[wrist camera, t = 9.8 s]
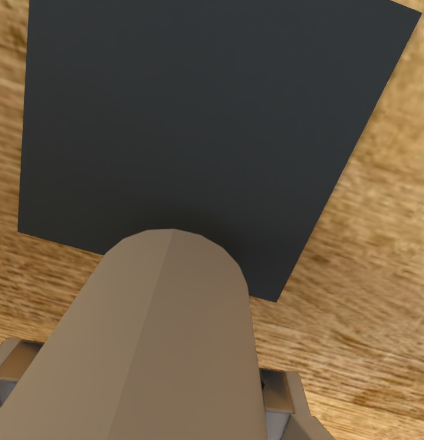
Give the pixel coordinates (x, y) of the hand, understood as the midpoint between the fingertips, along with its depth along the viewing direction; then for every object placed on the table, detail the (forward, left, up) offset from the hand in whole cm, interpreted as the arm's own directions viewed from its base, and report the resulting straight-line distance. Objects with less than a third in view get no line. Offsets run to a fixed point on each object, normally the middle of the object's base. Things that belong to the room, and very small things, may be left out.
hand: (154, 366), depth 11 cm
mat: (-1, +7, -8) cm, 10 cm away
